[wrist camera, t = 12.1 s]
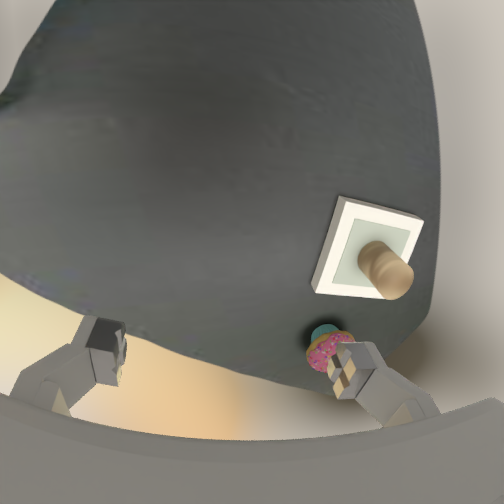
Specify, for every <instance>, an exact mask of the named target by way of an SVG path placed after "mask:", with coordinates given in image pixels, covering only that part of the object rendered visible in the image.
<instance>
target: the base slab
mask: <svg viewBox="0 0 504 504" xmlns="http://www.w3.org/2000/svg"><path fill="white" fill-rule="evenodd" d="M423 223H424V221H423V220H422V219H420V218H419V217H417V216H416V215H413V214H410V213H406V212H402V211H399V210H395V209H391V208H387V207H384V206H380V205H376V204H372V203H368V202H364V201H360V200H356V199H352V198H347V197H343V196H339V197H338V201H337V204H336V207H335V211H334V214H333V217H332V220H331V224H330V227H329V230H328V233H327V236H326V239H325V242H324V246H323V249H322V252H321V255H320V258H319V261H318V264H317V267H316V270H315V272H314V275H313V278H312V281H311V285H312V287H313V289H314V291H315V293H322V294H333V295H344V296H356V297H368V298H381V299H385V298H383V297H382V295H381V294H380V293H379V292H378V290H377V289H376V288H375V287H374V285H373V284H372V283H371V282H370V281H369V279H368V278H367V277H366V276H365V274H364V273H363V272H362V271H361V270H360V268H359V267H358V262H357V260H358V255H359V253H360V251H361V250H362V248H363V247H364V246H365V245H367V244H368V243H370V242H372V241H381V242H383V243H385V244H386V245H387V246H388V247H389V248H390V249H391V250H392V251H394V252H395V253H396V254H397V255H398V256H399V257H400V258H401V259H402V260H403V261H404V262H405V263H406V264H407V263H408V260H409V258H410V256H411V253H412V251H413V248H414V246H415V243H416V241H417V238H418V236H419V233H420V231H421V228H422V225H423Z"/></svg>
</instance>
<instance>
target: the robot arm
mask: <svg viewBox="0 0 504 504" xmlns="http://www.w3.org/2000/svg"><path fill="white" fill-rule="evenodd" d="M125 331H126V329H125V323H124V322H120V321H115V320H110V319H105V318H100V317H94V316H90V315H86V316H84V317H83V319H82V322H81V324H80V326H79V328H78V330H77V332H76V334H75V336H74V338H73V340H72V342H71V344H65V345H64V346H62V347H60V348H59V349H57V350H55V351H54V352H52V353H50V354H49V355H47V356H46V357H44V358H42V359H41V360H39V361H37V362H35V363H34V364H32V365H31V366H29V367H27V368H26V369H24V370H22V371H21V372H20V375H19V377H18V379H17V381H16V383H15V385H14V387H13V389H12V391H11V393H10V395H9V396H7V395H5V394H2V393H0V504H504V403H502V402H501V401H499V400H497V399H495V398H488V399H485V400H482V401H479V402H477V403H474V404H471V405H468V406H465V407H462V408H459V409H456V410H453V411H450V412H446V413H443V414H441V413H440V411H439V409H438V408H437V406H436V404H435V403H434V401H433V399H432V397H431V396H430V395H429V394H428V393H426V392H425V391H423V390H422V389H421V388H419V387H418V386H416V385H415V384H413V383H412V382H410V381H409V380H408V379H406V378H405V377H403V376H402V375H400V374H399V373H397V372H396V371H394V370H393V369H391V368H388V367H387V365H386V363H385V362H384V360H383V358H382V356H381V355H380V353H379V351H378V350H377V348H376V346H375V344H374V343H372V342H339V343H338V344H337V346H336V348H335V351H336V353H335V354H334V355H333V356H331V358H330V360H329V362H328V367H327V371H328V376H329V378H330V379H331V380H332V381H333V382H334V385H333V389H334V392H335V394H336V397H337V399H352V398H356V399H355V400H356V401H357V402H358V403H359V404H360V405H361V406H362V407H364V408H365V409H366V410H367V411H368V412H369V413H370V414H371V415H372V416H373V417H374V418H375V419H376V420H377V421H378V422H379V423H380V424H381V425H382V426H383V427H382V428H381V429H375V430H370V431H364V432H357V433H351V434H344V435H336V436H328V437H318V438H305V439H292V440H268V441H267V440H266V441H265V440H264V441H240V440H238V441H237V440H212V439H197V438H185V437H175V436H166V435H158V434H151V433H145V432H138V431H132V430H126V429H121V428H116V427H111V426H106V425H102V424H97V423H93V422H89V421H85V420H81V419H77V418H73V417H72V416H71V414H70V412H69V409H70V408H71V407H72V406H73V405H74V404H75V403H76V402H77V401H78V400H80V398H82V396H84V395H85V394H86V393H87V392H88V391H89V390H90V389H92V388H93V387H94V386H95V385H96V383H100V384H105V385H111V386H117V387H118V386H119V382H120V378H121V374H122V372H121V366H122V365H123V364H124V362H125V357H126V350H127V343H126V339H125V338H124V335H125Z"/></svg>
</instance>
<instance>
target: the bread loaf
mask: <svg viewBox="0 0 504 504" xmlns="http://www.w3.org/2000/svg"><path fill="white" fill-rule="evenodd" d="M357 262H358V267H359V268H360V270H361V271H362V272H363V273H364V274H365V276H366V277H367V278H368V279H369V281H370V282H371V283H372V284H373V285H374V287H375V288H376V289H377V290H378V292H379V293H380V294H381V295H382V297H383V298H385V299H388V300H393V299H397V298H399V297H401V296H402V295H403V294H405V293H406V292H407V290H408V289H409V288H410V286H411V284H412V282H413V277H414V274H413V270H412V268H411V267H410V266H409V265H408V264H406V263H405V262H404V261H403V260H402V259H401V258H400V257H399V256H398V255H397V254H396V253H395V252H394V251H392V250H391V249H390V248H389V247H388V246H387V245H386V244H385V243H383V242H381V241H372V242H370V243H368V244H367V245H365V246H364V247H363V248H362V250H361V251H360V253H359V255H358V260H357Z"/></svg>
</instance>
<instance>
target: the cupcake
mask: <svg viewBox="0 0 504 504" xmlns="http://www.w3.org/2000/svg"><path fill="white" fill-rule="evenodd" d="M339 342H355V340H354V338H353V336H352V335H351V334H350V333H349V332H347V331H340V330H339V329H338V328H336V327H335V326H334V325H332V324H324V325H321V326H319V327H317V328H316V329H315V330H314V331H313V333H312V335H311V344H310V346H309V348H308V349H307V352H306V353H307V361H308V362H309V365H311V366H312V368H313V369H315V370H317V371H319V372H320V371H321V372H323V373H324V372H325V373H326V372H328V371H327V367H328V362H329V360H330V358H331V356H333V355H334V354H335V353H336V351H335V348H336V346H337V344H338V343H339Z"/></svg>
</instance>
